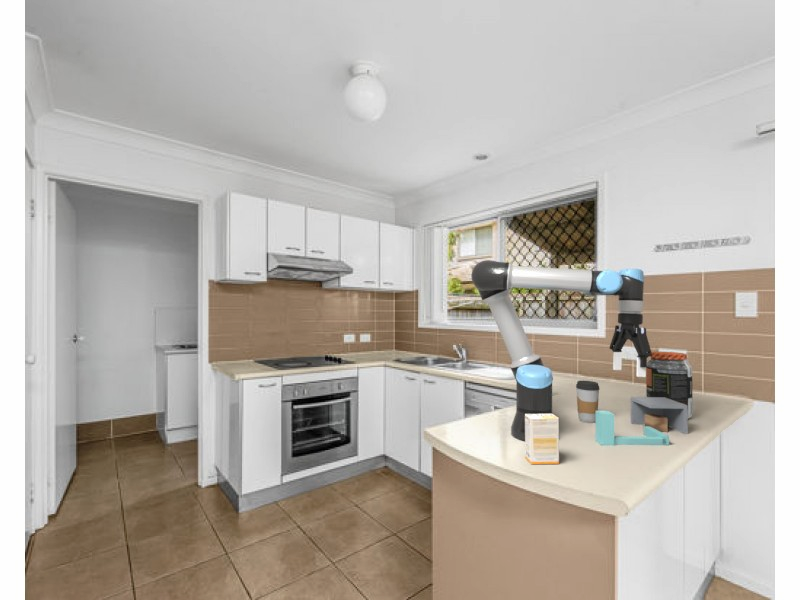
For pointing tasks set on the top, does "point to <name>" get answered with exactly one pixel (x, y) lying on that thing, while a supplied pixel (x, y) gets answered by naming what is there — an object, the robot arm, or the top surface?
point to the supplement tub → (670, 378)
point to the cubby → (660, 411)
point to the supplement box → (542, 438)
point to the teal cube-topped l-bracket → (607, 436)
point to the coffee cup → (587, 400)
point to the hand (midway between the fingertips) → (628, 373)
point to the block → (656, 422)
